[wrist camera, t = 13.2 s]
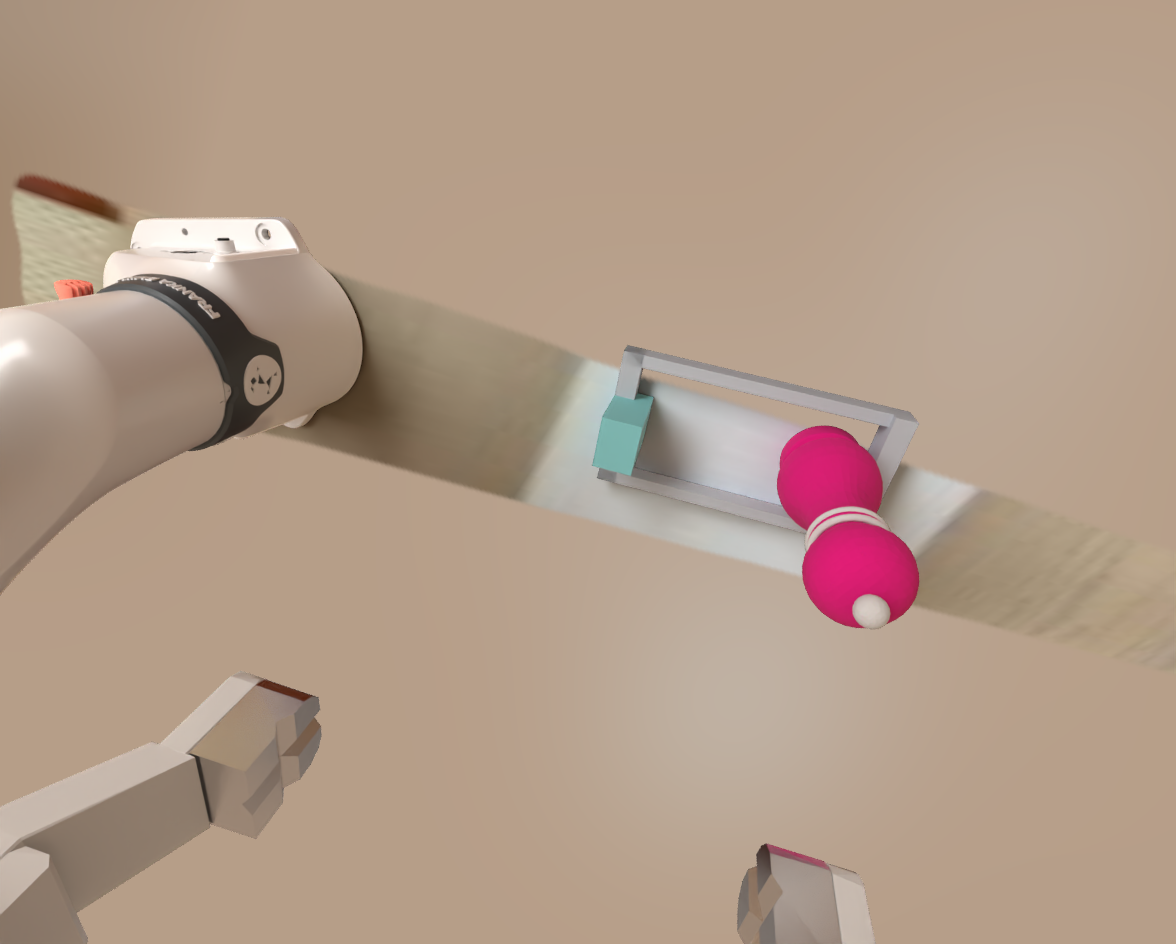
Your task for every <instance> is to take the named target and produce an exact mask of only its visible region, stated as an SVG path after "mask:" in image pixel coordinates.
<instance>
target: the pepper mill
mask: <svg viewBox="0 0 1176 944" xmlns="http://www.w3.org/2000/svg"><path fill="white" fill-rule="evenodd" d="M777 490H778V495H779V498H780V501H781V504H782V506H783V508H784V510H785V511H786V513H787V514H788V515H789V516H790V517H791V518H792V520H793V521H794V522H795V523H796V524H798V525H799V526H800V527H802V528H803V529H805V530H807V533H806V536H805V550H806V554H805V557H804V561H803V565H802V575H803V582H804V585H805V589H806V591H807V593H808V595H809V597H810V599H811V600H812V602H813V603H814V604H815V606H816V607H817V608H818V609H819V610H820V611H821V612H822V613H823V614H825V615H826V616H827V617H829V618H830V619H832V620H834V621H835V622H838V623H840V624H843V625H845V626H850V627H855V628H869V629H878V628H881V627H883V626H885V625H886V624H888V623H890V622H892V621H894V620H896V619H897V618H899V617H900V616H902V615H903V614H904V613H905V612H906V611H907V610H908V609H909V608H910V606H911V605H912V603H913V601H914V600H915V598H916V595H917V591H918V586H919V572H918V568H917V564H916V560H915V558H914V556H913V554H912V552H911V550H910V549H909V548H908V546H907V545H906V544H905V543H904V542H903V541H902V540H901V539H900V538H898V537H897V536H896V535H895V534H894V533H892V532H891V531H890V528H889V526H888V525H887V523H886V522H885V521H884V519H883V518H881V517H880V516H879V515H878V514H876V513H877V511H878V509H879V507H880V504H881V500H882V494H883V481H882V477H881V473H880V470H879V467H878V465H877V463H876V461H875V459H874V458H873V457H872V455H871V454H870V453H869V452H868V451H867V450H865V449H864V448H863V447H861V446H860V445H859V444H858V442H857V441H856V440H855V439H854V437H853V436H852V435H850V434H849V433H847V432H846V431H844V430H842V429H839V428H837V427H832V426H815V427H811V428H808V429H805V430H803V431H801V432H799V433H797V434H796V435H795V436H793V437H792V438H791V439H790V440H789V441H788V442H787V444H786V445H785V447H784V449H783V450H782V453H781V457H780V471H779V474H778V479H777Z"/></svg>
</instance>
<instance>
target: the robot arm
mask: <svg viewBox="0 0 1176 944" xmlns="http://www.w3.org/2000/svg"><path fill="white" fill-rule="evenodd" d="M268 230H269V232H270V234H271V238H270V237H269V236H268ZM54 286H55V289H56V292H57V294H58V296H59V298H60V300H55V301H49V302H42V303H36V304H30V305H23V306H17V307H11V308H4V309H0V595H1V594H2V593H3V592H4V590H5V589H6V588H7V587H8V586H9V585H10V583H11V582H12V581H13V580H14V579H15V578H16V576H17V575H18V574H19V573H20V572H21V571H22V570H23V569H24V568H25V567H26V566H27V565H28V564H29V563H30V562H31V560H33V559H34V558H35V556H36V555H37V554H38V553H39V552H40V551H41V550H42V549H43V548H44V547H45V546H46V545H47V544H48V543H49V542H50V541H51V540H52V539H53V538H54V537H56V536H57V535H58V534H59V532H61V531H62V530H63V529H64V528H65V527H66V526H67V525H69V524H70V523H71V522H72V521H73V520H74V519H75V518H76V517H78V516H79V515H80V514H81V513H82V512H84V511H85V510H86V509H87V508H88V507H90V506H91V505H92V504H93V503H95V502H96V501H98V500H99V499H100V498H102V497H103V496H105V495H106V494H107V493H109V492H110V491H112V490H114V489H115V488H117V487H119V486H121V485H122V484H124V483H126V482H128V481H130V480H132V479H133V478H135V477H137V476H139V475H141V474H143V473H144V472H147V471H148V470H150V469H152V468H154V467H156V466H158V465H160V464H162V463H164V462H166V461H168V460H170V459H172V458H174V457H176V456H178V455H180V454H182V453H184V452H186V451H196V450H201V449H205V448H207V447H210V446H214V445H218V444H220V443H223V442H225V441H227V440H229V439H231V438H233V437H234V438H235V439H245V438H248V437H251V436H253V435H256V434H259V433H261V432H264V431H267V430H269V429H272V428H275V427H277V426H280V425H282V424H283V425H285V426H287V427H289V428H298V427H300V426H303V425H305V424H306V423H308V421H309V420H310V419H311V418H312V417H313V415H314V414H315V412H316V411H317V410H318V409H319V408H321V407H323V406H325V405H328V404H330V403H333V402H335V401H337V400H338V399H340V398H341V397H342V396H344V395H345V394H346V393H347V392H348V391H349V390H350V388H351V387H352V386H353V384H354V382H355V381H356V379H357V376H358V374H359V371H360V367H361V362H362V350H363V349H362V336H361V331H360V326H359V323H358V319H357V317H356V314H355V311H354V309H353V307H352V305H351V303H350V301H349V299H348V297H347V295H346V294H345V292H344V291H343V289H342V288H341V286H340V285H339V284H338V282H337V281H336V280H335V279H334V278H333V276H332V275H331V274H330V273H329V272H328V271H327V270H326V269H325V268H324V267H323V266H322V265H321V264H319V263H318V262H317V261H316V259H315V258H313V256H312V255H311V254H310V252H309V250H308V249H307V246H306V245H305V243H304V241H303V239H302V237H301V235H300V234H299V232H298V231H297V229H296V228H295V226H294V225H293V224H292V223H291V222H290V221H289V220H287V219H285V218H281V217H258V218H257V217H256V218H255V217H254V218H253V217H251V218H151V219H145V220H141V221H139V222H138V223H137V225H136V227H135V229H134V232H133V236H132V240H131V247H130V249H129V250H121V251H116V252H114V253H113V254H112V255H111V256H110V257H109V259H108V260H107V263H106V266H105V270H104V277H103V289H101V290H100V291H99V292H97V293H96V294H93V286H92V284H91V283H90V282H87V281H82V280H60V281H56V282H55V283H54ZM319 710H320V705H319V698H318V697H316V696H313V695H310V694H307V693H304V692H301V691H298V690H295V689H292V688H290V687H287V686H284V685H281V684H278V683H275V682H272V681H269V680H267V679H264V678H261V677H258V676H255V675H251V674H249V673H246V672H242V671H240V672H238V673H236V674H235V675H233V676H231V677H229V678H228V679H227V680H226V681H225V682H224V683H223V684H222V685H221V686H220V687H219V688H218V689H217V690H215V692H213V693H212V694H211V695H210V696H209V697H208V698H207V699H206V700H205V701H204V702H203V703H202V704H201V705H200V706H199V707H198V708H197V709H196V710H195V711H194V712H193V713H191V715H189V716H188V717H187V718H186V719H185V720H184V721H183V722H182V723H181V724H180V725H179V726H178V727H177V728H176V729H175V730H174V731H173V732H172V733H171V734H170V735H169V736H167V738H165V739H164V740H163V741H162V742H161V743H160V744H158V743H155V742H150V743H148V744H146V745H143V746H141V747H138V748H136V749H134V750H131V751H129V752H127V753H124V754H122V755H120V756H117V757H115V758H113V759H111V760H108V761H106V762H104V763H101V764H99V765H97V766H94V767H92V768H89V769H87V770H85V771H83V772H80V773H78V774H75V775H73V776H71V777H69V778H66V779H64V780H61V781H59V782H57V783H54V784H52V785H50V786H47V787H45V788H43V789H40V790H38V791H36V792H33V793H31V794H29V795H26V796H24V797H22V798H20V799H17V800H15V801H12V802H10V803H8V804H6V805H3V806H1V807H0V944H87V942H88V937H87V935H86V933H85V931H84V929H83V927H82V925H81V922H80V920H79V918H78V916H77V912H79V911H80V910H82V909H83V908H85V907H87V906H88V905H90V904H91V903H93V902H94V901H96V900H97V899H99V898H101V897H102V896H103V895H105V894H107V893H108V892H110V891H112V890H113V889H115V888H116V887H118V886H119V885H121V884H123V883H124V882H126V881H127V880H129V879H130V878H132V877H134V876H135V875H137V874H138V873H140V872H141V871H143V870H145V869H146V868H148V867H149V866H151V865H152V864H154V863H155V862H157V861H159V860H160V859H162V858H163V857H165V856H166V855H168V854H170V853H171V852H172V851H174V850H176V849H177V848H179V847H181V846H182V845H184V844H185V843H187V842H188V841H190V840H192V839H193V838H194V837H196V836H198V835H199V834H201V833H202V832H204V831H205V830H207V829H209V828H210V824H212V825H215V826H218V827H221V828H224V829H227V830H230V831H233V832H236V833H239V834H242V835H246V836H248V837H251V838H254V839H256V838H257V837H258V835H259V834H260V833H261V831H262V830H263V829H264V827H265V826H266V825H267V823H268V822H269V821H270V819H271V818H272V817H273V815H274V814H275V812H276V811H277V810H278V809H279V807H280V806H281V805H282V803H283V790H284V787H286V786H288V785H290V784H292V783H294V782H296V781H298V780H300V779H301V777H302V776H303V774H304V773H305V771H306V770H307V769H308V767H309V766H310V765H311V763H312V761H313V758H314V756H315V754H316V752H317V750H318V748H319V744H320V739H321V726H320V724H319V723H318V722H317V720H316V719H315V717H314V716H315V715H316V714H317V713H318V712H319ZM756 856H757V866H756V867H753V868H750V869H748V871H747V873H746V875H745V877H744V879H743V881H742V886H741V890H740V894H739V901H738V914H737V915H738V916H737V917H738V920H737V924H738V925H737V930H738V933H739V935H740V937H741V939H742V941H743V943H744V944H876V943H875V938H874V933H873V928H872V923H871V918H870V913H869V908H868V903H867V898H866V894H865V888H864V883H863V881H862V879H861V878H860V876H859V875H858V874H857V873H855V872H853V871H850V870H847V869H844V868H840V867H837V866H834V865H831V864H827V863H825V862H824V861H821V860H818V859H815V858H812V857H808V856H805V855H802V854H798V853H795V852H792V851H789V850H786V849H782V848H779V847H776V846H773V845H769V844H764V845H762V846H761V848H760V849H759V851H758V852H757V854H756Z"/></svg>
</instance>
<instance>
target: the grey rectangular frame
mask: <svg viewBox="0 0 1176 944" xmlns="http://www.w3.org/2000/svg"><path fill="white" fill-rule="evenodd" d="M643 368H645V369H649V370H653V371H657V372H662V373H665V374H670V375H674V376H678V377H682V378H686V379H691V380H695V381H699V382H703V383H707V384H712V385H715V386H719V387H724V388H728V389H732V390H736V391H740V392H744V393H749V394H753V395H757V396H761V397H765V398H769V399H774V400H778V401H782V402H786V403H791V404H795V405H798V406H803V407H807V408H811V409H815V410H819V411H823V412H828V413H832V414H836V415H840V416H844V417H849V418H853V419H857V420H861V421H865V422H869V423H873V424H877V425H880V426H879V428H878V430H877V432H876V435H875V437H874V439H873V442H872V443H871V446H870V448H869V450H868V452H869V453H870V454H871V455H872V457H873V458H874V459H875V461H876V463H877V465H878V467H879V470H880V473H881V477H882V481H883V494H882V499H883V497H884V495H885V493H886V491H887V489H888V487H889V485H890V482H891V480H892V478H893V476H894V474H895V472H896V470H897V468H898V466H899V464H900V462H901V460H902V458H903V456H904V454H905V452H906V450H907V447H908V445H909V443H910V441H911V439H912V437H913V435H914V433H915V431H916V429H917V427H918V425H919V423H918V421H917V420H916V419H915V418H914V417H913V415H912V414H911V413H910V412H908V411H904V410H899V409H895V408H891V407H887V406H883V405H878V404H874V403H870V402H866V401H861V400H857V399H853V398H849V397H844V396H841V395H836V394H832V393H828V392H824V391H819V390H815V389H811V388H807V387H803V386H798V385H794V384H789V383H786V382H781V381H777V380H773V379H769V378H765V377H760V376H756V375H752V374H748V373H743V372H739V371H735V370H731V369H726V368H722V367H718V366H714V365H709V364H705V363H701V362H697V361H693V360H688V359H684V358H680V357H676V356H672V355H667V354H663V353H659V352H654V351H650V350H646V349H642V348H637V347H633V346H629V345H628V346H627V347H626V349H625V350H624V354H623V359H622V364H621V368H620V373H619V377H618V382H617V387H616V392H615V396H614V397H613V399H612V401H611V403H610V404H609V406H608V408H607V410H606V411H605V413H604V415H603V417H602V421H601V426H600V430H599V435H598V440H597V445H596V450H595V455H594V460H593V465H592V466H595V467H599V472H598V477H597V478H598V479H602V480H606V481H610V482H613V483H617V484H621V485H625V486H629V487H632V488H636V489H640V490H644V491H647V492H651V493H655V494H659V495H662V496H666V497H670V498H674V499H678V500H681V501H685V502H689V503H693V504H696V505H700V506H704V507H708V508H712V509H715V510H719V511H723V512H727V513H730V514H734V515H738V516H742V517H745V518H749V519H753V520H757V521H761V522H764V523H768V524H772V525H776V526H779V527H783V528H787V529H791V530H794V531H798V532H802V533H807V530H805V529H803V528H802V527H800V526H799V525H798V524H796V523H795V522H794V521H793V520H792V518H791V517H790V516H789V515H788V514H787V513H786V511H785V510H784V508H783V506H779V505H776V504H772V503H768V502H764V501H760V500H756V499H753V498H749V497H745V496H741V495H737V494H733V493H730V492H726V491H722V490H718V489H714V488H711V487H707V486H703V485H699V484H695V483H691V482H688V481H684V480H680V479H676V478H672V477H668V476H665V475H661V474H657V473H653V472H649V471H645V470H642V469H638V468H634V465H635V462H636V460H637V457H638V454H639V451H640V448H641V445H642V442H643V439H644V435H645V431H646V427H647V423H648V419H649V415H650V410H651V406H652V402H653V398H654V397H651V396H647V395H643V394H639V393H637V392H638V388H639V383H640V379H641V375H642V370H643ZM881 501H882V500H881Z"/></svg>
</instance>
